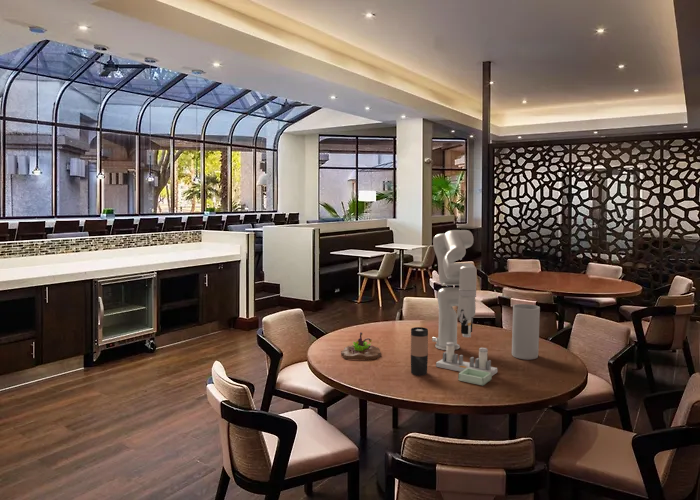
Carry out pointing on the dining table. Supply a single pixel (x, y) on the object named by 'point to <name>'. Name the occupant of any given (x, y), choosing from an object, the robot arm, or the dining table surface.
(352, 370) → the dining table surface
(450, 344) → the cylinder
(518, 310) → the cylinder vase
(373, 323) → the dining table surface
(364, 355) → the plant
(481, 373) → the tray
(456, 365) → the holder
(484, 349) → the fuse right
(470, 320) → the fuse marked
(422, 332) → the travel mug
